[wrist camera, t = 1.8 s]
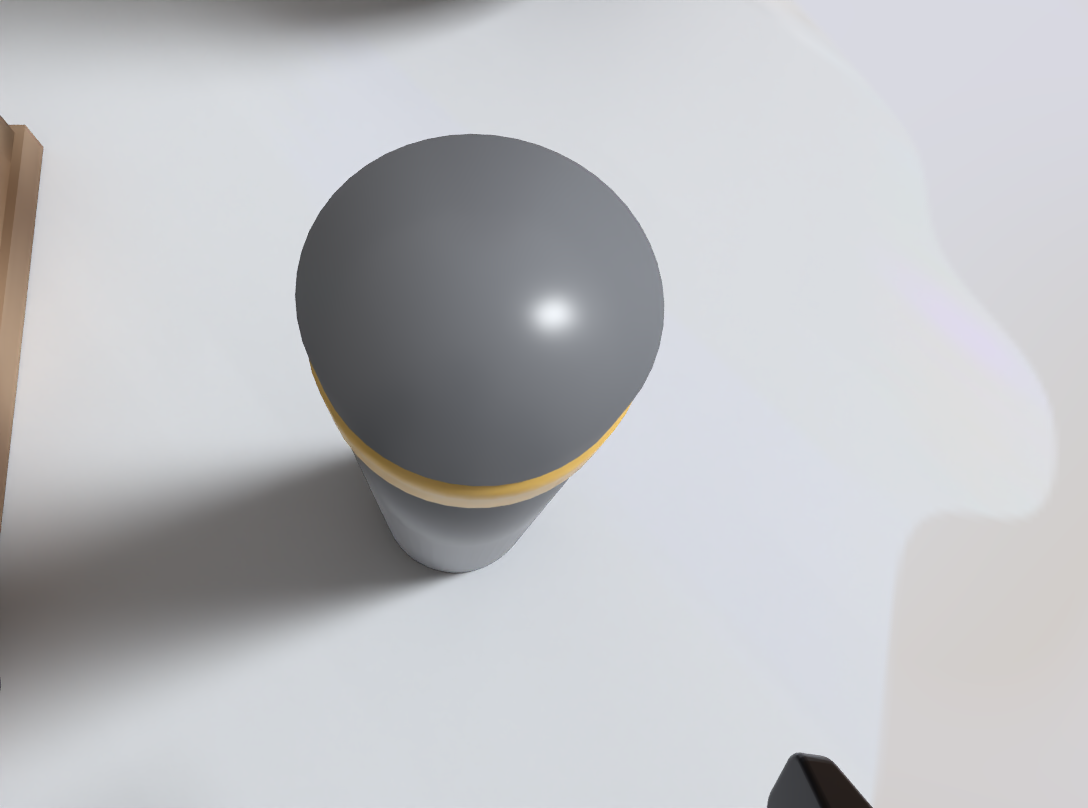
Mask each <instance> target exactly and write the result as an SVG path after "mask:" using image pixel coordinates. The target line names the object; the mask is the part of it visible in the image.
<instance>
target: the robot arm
mask: <svg viewBox="0 0 1088 808" xmlns="http://www.w3.org/2000/svg"><path fill="white" fill-rule="evenodd" d="M0 688H1V679H0ZM767 808H872V806H871V805H870V804H869V803H868V802H867V801H866V799H865V798H864V797H863V796H862V795H861V793H860V792H859V791H858V790H857V789H856V788H855V786H854V785H853V784H852V783H851V782H850V781H849V779H848V778H847V777H846V776H845V775H844V773H843V772H842V771H841V770H840V769H839V768H838V766H837V765H836V764H835V763H834V762H833V761H831V760H830V759H829V758H827V757H824V756H819V755H813V754H806V753H795V754H793V755H792V756H790V758H789V759H788V761H787V763H786V765H785V767H784V769H783V770H782V772H781V774H780V776H779V778H778V780H777V781H776V783H775V785H774V787H773V789H772V791H771V793H770V795H769V799H768V804H767Z"/></svg>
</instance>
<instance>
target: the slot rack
mask: <svg viewBox="0 0 1088 808" xmlns="http://www.w3.org/2000/svg"><path fill="white" fill-rule="evenodd" d="M42 154H43V146H42V145H41V144H40V142H39V141H38V140H37V139H36V138H35V136H34V135H33V134H32V133H31V131H30V130H29V129H28V128H27V126H26V125H8V124H7V123H6V122H5V120H4V119H3V118H2V117H1V116H0V531H1V522H2V513H3V504H4V495H5V486H6V477H7V468H8V459H9V450H10V442H11V433H12V424H13V415H14V406H15V397H16V388H17V379H18V370H19V361H20V352H21V343H22V334H23V325H24V316H25V307H26V298H27V289H28V280H29V271H30V262H31V253H32V244H33V235H34V226H35V217H36V208H37V199H38V190H39V181H40V172H41V163H42Z"/></svg>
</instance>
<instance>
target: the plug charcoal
mask: <svg viewBox="0 0 1088 808" xmlns="http://www.w3.org/2000/svg"><path fill="white" fill-rule="evenodd" d="M295 299H296V311H297V320H298V324H299V329H300V333H301V337H302V341H303V344H304V347H305V349H306V352H307V354H308V357H309V362H310V366H311V370H312V374H313V376H314V379H315V381H316V384H317V386H318V389H319V391H320V394H321V396H322V398H323V400H324V402H325V404H326V406H327V408H328V410H329V412H330V414H331V416H332V418H333V420H334V422H335V424H336V426H337V427H338V429H339V431H340V433H341V434H342V436H343V438H344V440H345V441H346V442H347V444H348V445H349V446H350V447H351V449H352V451H353V453H354V455H355V457H356V459H357V461H358V463H359V465H360V468H361V470H362V472H363V474H364V476H365V478H366V480H367V482H368V484H369V487H370V489H371V491H372V493H373V495H374V497H375V499H376V501H377V503H378V506H379V508H380V510H381V512H382V514H383V516H384V518H385V520H386V522H387V525H388V527H389V529H390V531H391V533H392V535H393V536H394V538H395V540H396V541H397V543H398V544H399V545H400V547H401V548H402V549H403V550H404V551H405V552H406V553H407V554H408V555H409V556H410V557H412V558H413V559H414V560H416V561H417V562H419V563H421V564H423V565H424V566H427V567H429V568H432V569H435V570H439V571H443V572H452V573H459V572H468V571H474V570H477V569H480V568H483V567H485V566H487V565H490V564H492V563H493V562H495V561H496V560H498V559H499V558H501V557H502V556H503V555H504V554H506V553H507V552H508V551H509V550H510V548H511V547H512V546H513V545H514V544H515V543H516V542H517V540H518V539H519V538H520V537H521V536H522V534H523V533H524V532H525V531H526V529H527V528H528V527H529V526H530V525H531V523H532V522H533V521H534V520H535V519H536V517H537V516H538V515H539V514H540V513H541V511H542V510H543V509H544V508H545V507H546V505H547V504H548V503H549V502H550V500H551V499H552V498H553V497H554V496H555V494H556V493H557V492H558V491H559V490H560V488H561V487H562V486H563V485H564V484H565V482H566V481H567V480H568V479H569V478H570V476H572V475H573V474H574V473H575V472H577V471H578V470H579V469H580V468H581V467H582V466H583V465H584V464H585V463H586V462H587V461H588V460H589V459H590V458H591V457H592V455H593V454H594V453H595V452H596V451H597V450H598V449H599V447H600V446H601V445H602V444H603V443H604V442H605V440H606V439H607V438H608V437H609V436H610V435H611V433H612V432H613V431H614V430H615V428H616V427H617V425H618V424H619V423H620V421H621V420H622V418H623V417H624V416H625V414H626V412H627V410H628V408H629V407H630V405H631V403H632V401H633V399H634V398H635V396H636V395H637V394H638V392H639V391H640V389H641V388H642V386H643V385H644V383H645V381H646V379H647V377H648V375H649V373H650V371H651V369H652V367H653V364H654V361H655V358H656V355H657V352H658V349H659V346H660V340H661V335H662V330H663V320H664V297H663V287H662V281H661V276H660V272H659V268H658V264H657V261H656V258H655V255H654V253H653V250H652V248H651V245H650V242H649V241H648V239H647V237H646V235H645V233H644V231H643V229H642V228H641V226H640V224H639V222H638V221H637V220H636V218H635V217H634V215H633V214H632V213H631V211H630V210H629V208H628V207H627V206H626V205H625V204H624V202H623V201H622V200H621V199H620V198H619V197H618V196H617V195H616V194H615V192H614V191H613V190H612V189H610V188H609V187H608V186H607V185H606V184H605V183H604V182H602V181H601V180H600V179H599V178H598V177H597V176H595V175H594V174H592V173H591V172H590V171H588V170H587V169H585V168H584V167H582V166H581V165H579V164H578V163H576V162H574V161H572V160H570V159H569V158H567V157H565V156H563V155H561V154H559V153H557V152H554V151H552V150H549V149H547V148H544V147H542V146H539V145H536V144H533V143H529V142H526V141H522V140H519V139H514V138H508V137H502V136H496V135H480V134H464V135H449V136H443V137H437V138H431V139H426V140H423V141H419V142H416V143H412V144H409V145H406V146H404V147H401V148H399V149H396V150H394V151H392V152H389V153H387V154H385V155H383V156H382V157H380V158H378V159H376V160H375V161H373V162H371V163H369V164H368V165H366V166H365V167H364V168H362V169H361V170H360V171H358V172H357V173H356V174H354V175H353V176H352V177H350V178H349V179H348V180H347V181H346V182H345V183H344V184H343V185H342V186H341V187H340V188H339V189H338V190H337V191H336V192H335V193H334V194H333V195H332V197H331V198H330V199H329V201H328V202H327V203H326V205H325V206H324V207H323V209H322V210H321V211H320V213H319V215H318V216H317V218H316V220H315V222H314V224H313V225H312V227H311V229H310V231H309V233H308V236H307V239H306V241H305V244H304V246H303V249H302V252H301V257H300V261H299V266H298V270H297V278H296V292H295Z"/></svg>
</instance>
